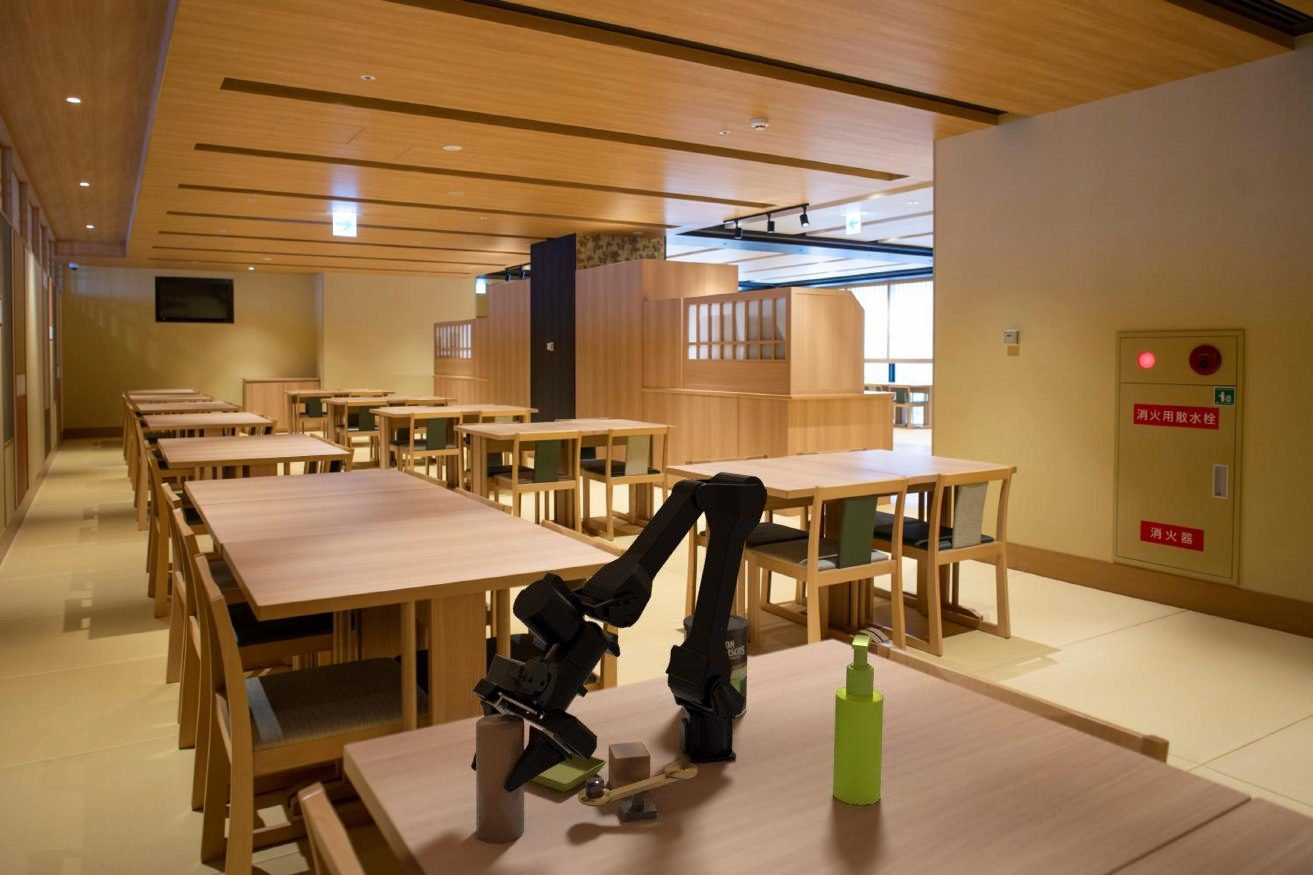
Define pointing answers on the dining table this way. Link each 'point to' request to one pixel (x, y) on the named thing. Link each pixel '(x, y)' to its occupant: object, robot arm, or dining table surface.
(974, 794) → the dining table surface
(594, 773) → the green square dish
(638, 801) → the balance
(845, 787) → the soap dispenser
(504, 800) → the brown cylinder
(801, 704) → the dining table surface
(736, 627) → the coffee can
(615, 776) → the block
